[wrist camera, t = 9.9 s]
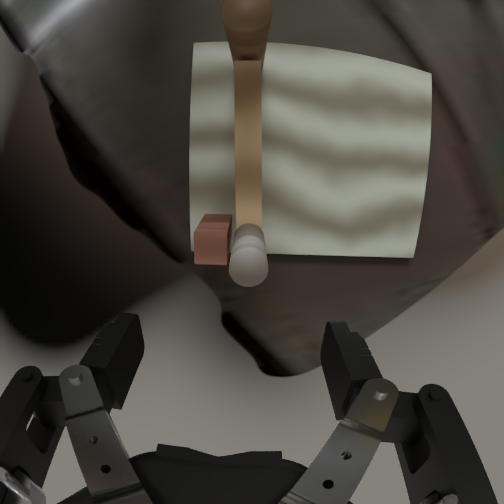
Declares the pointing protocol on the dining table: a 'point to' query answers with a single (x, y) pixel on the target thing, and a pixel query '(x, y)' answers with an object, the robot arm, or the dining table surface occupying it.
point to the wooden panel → (248, 177)
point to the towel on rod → (309, 145)
